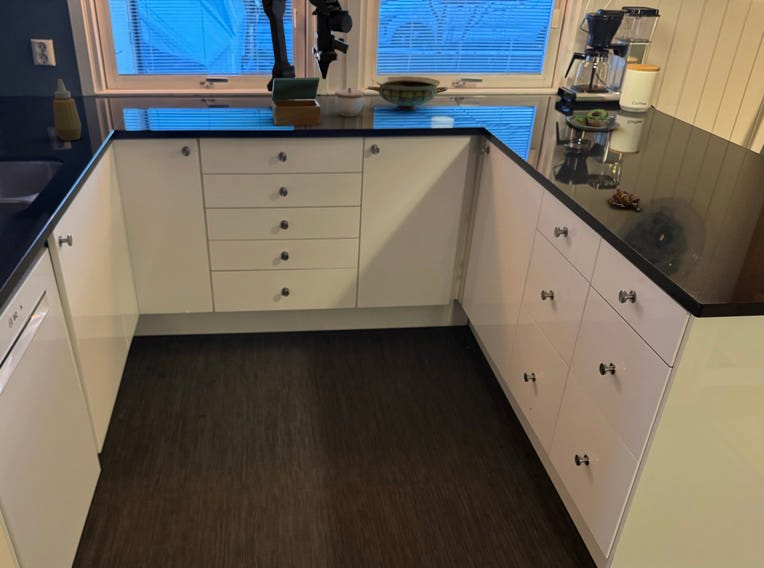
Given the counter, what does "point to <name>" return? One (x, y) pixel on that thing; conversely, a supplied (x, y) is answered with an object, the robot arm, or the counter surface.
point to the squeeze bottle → (66, 114)
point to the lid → (295, 88)
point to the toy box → (295, 112)
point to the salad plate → (593, 121)
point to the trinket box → (349, 101)
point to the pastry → (624, 199)
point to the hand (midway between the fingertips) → (324, 79)
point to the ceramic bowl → (408, 90)
